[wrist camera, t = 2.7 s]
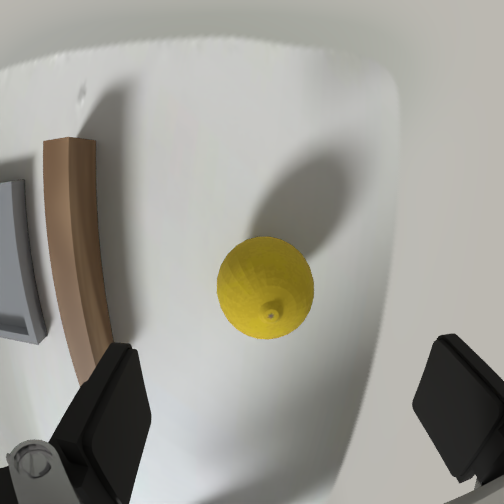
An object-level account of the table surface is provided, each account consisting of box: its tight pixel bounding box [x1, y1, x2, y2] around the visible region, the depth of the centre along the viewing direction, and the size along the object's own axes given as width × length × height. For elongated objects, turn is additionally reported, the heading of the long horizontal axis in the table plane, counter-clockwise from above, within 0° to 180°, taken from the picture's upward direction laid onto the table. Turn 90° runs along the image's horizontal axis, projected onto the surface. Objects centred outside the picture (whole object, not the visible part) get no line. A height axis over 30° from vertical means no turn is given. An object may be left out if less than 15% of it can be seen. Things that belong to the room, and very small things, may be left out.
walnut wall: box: [43, 137, 114, 387], centre depth 20 cm, size 2×18×4 cm, turn 179°
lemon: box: [217, 237, 314, 339], centre depth 18 cm, size 6×6×8 cm
